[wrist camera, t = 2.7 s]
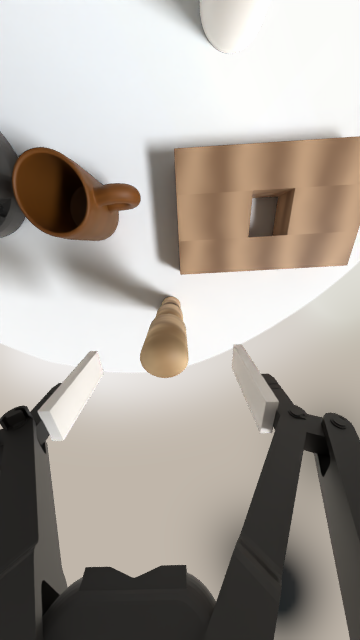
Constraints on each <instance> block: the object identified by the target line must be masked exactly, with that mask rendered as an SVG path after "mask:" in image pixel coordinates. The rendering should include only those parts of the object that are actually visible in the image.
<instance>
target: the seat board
mask: <svg viewBox="0 0 360 640" xmlns="http://www.w3.org/2000/svg"><path fill="white" fill-rule="evenodd" d="M174 157H175V177H176V197H177V217H178V236H179V256H180V274H181V275H182V274H200V273H218V272H236V271H254V270H272V269H290V268H308V267H326V266H343V265H347V264H348V261H349V258H350V254H351V251H352V248H353V245H354V242H355V239H356V235H357V232H358V229H359V226H360V137H345V138H329V139H314V140H299V141H283V142H268V143H253V144H237V145H222V146H207V147H191V148H176V149H174ZM264 197H278V200H277V207H276V214H275V221H274V228H273V235H272V236H263V237H248V236H249V226H250V215H251V204H252V198H264Z"/></svg>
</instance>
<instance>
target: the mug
mask: <svg viewBox="0 0 360 640" xmlns="http://www.w3.org/2000/svg"><path fill="white" fill-rule="evenodd" d="M12 187H13V192H14V195H15V199H16V201H17V203H18V205H19V207H20V209H21V211H22V212H23V214H24V215H25V216H26V218H27V219H28V220H29V221H30V222H31V223H32V224H33V225H34V226H36V227H37V228H38V229H40V230H41V231H43V232H45V233H46V234H49V235H51V236H55V237H60V238H64V239H71V240H89V241H100V240H104V239H106V238H108V237H110V236H111V235H112V234H113V233H114V231H115V230H116V228H117V225H118V220H119V213H118V211H120V210H128V209H133V208H135V207H137V206H138V205H139V203H140V199H141V197H140V194H139V192H138V190H137V189H136V188H135V187H133V186H131V185H128V184H120V183H114V184H106V185H102V184H101V183H100V182H98V181H97V180H96V179H95V178H94V177H93V176H91V175H90V174H89V173H88V172H87V171H85V170H84V169H83V168H82V167H80V166H79V165H78V164H77V163H75V162H74V161H72V160H71V159H69V158H67V157H66V156H64V155H63V154H61V153H59V152H57V151H55V150H53V149H50V148H44V147H37V148H32V149H29V150H27V151H25V152H24V153H22V154H21V155H20V156H19V158H18V159H17V161H16V163H15V165H14V168H13V172H12Z"/></svg>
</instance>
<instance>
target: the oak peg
mask: <svg viewBox="0 0 360 640" xmlns="http://www.w3.org/2000/svg"><path fill="white" fill-rule="evenodd" d="M140 361H141V364H142V366H143V368H144V369H145V370H146V371H147V372H148V373H150V374H152V375H154V376H157V377H161V378H169V377H173V376H176V375H178V374H180V373H181V372H182V371H183V370H184V369H185V368H186V366H187V364H188V348H187V337H186V327H185V324H184V322H183V314H182V311H181V309H180V302H179V300H178V299H177V298H175V297H167V298H165V299H164V300H163V302H162V304H161V307H160V308H159V309H158V311H157V314H156V317H155V319H154V320H153V321H152V323H151V325H150V328H149V331H148V333H147V336H146V339H145V342H144V345H143V347H142V350H141V354H140Z"/></svg>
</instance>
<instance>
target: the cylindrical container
mask: <svg viewBox="0 0 360 640" xmlns="http://www.w3.org/2000/svg"><path fill="white" fill-rule="evenodd" d="M270 1H271V0H200V5H199V8H200V18H201V22H202V26H203V29H204V32H205V35H206V37H207V38H208V40H209V42H210V43H211V44H212V45H213V46H214V47H215V48H216V49H217V50H219V51H220V52H223V53H226V54H233V53H237V52H240V51H241V50H243V49H244V48H246V47H247V46H248V45H249V44H250V43H251V42H252V41H253V39H254V38H255V37H256V35H257V33H258V31H259V29H260V27H261V25H262V22H263V20H264V17H265V14H266V12H267V9H268V6H269V4H270Z"/></svg>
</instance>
